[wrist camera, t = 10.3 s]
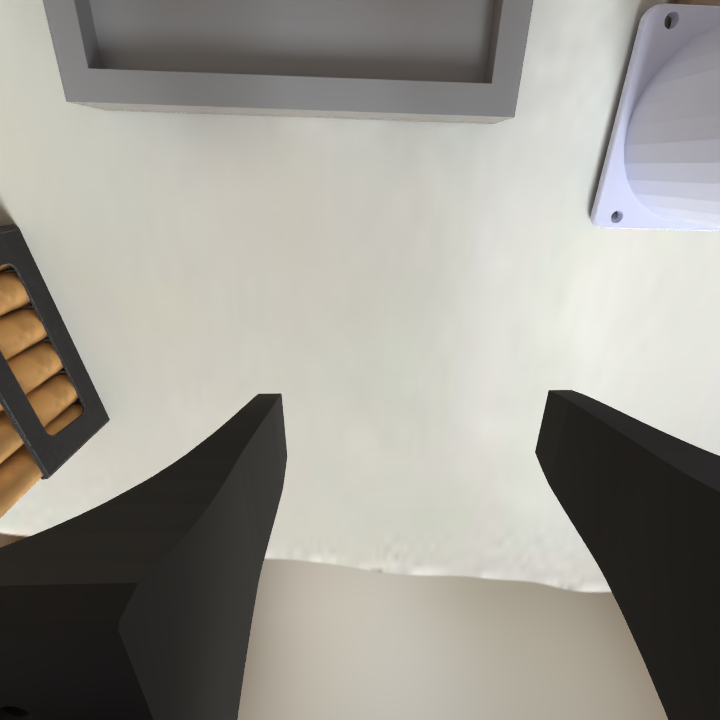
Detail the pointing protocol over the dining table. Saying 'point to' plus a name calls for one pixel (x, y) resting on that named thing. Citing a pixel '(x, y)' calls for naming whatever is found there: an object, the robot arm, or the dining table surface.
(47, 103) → the dining table surface
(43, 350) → the ammunition clip
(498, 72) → the housing
